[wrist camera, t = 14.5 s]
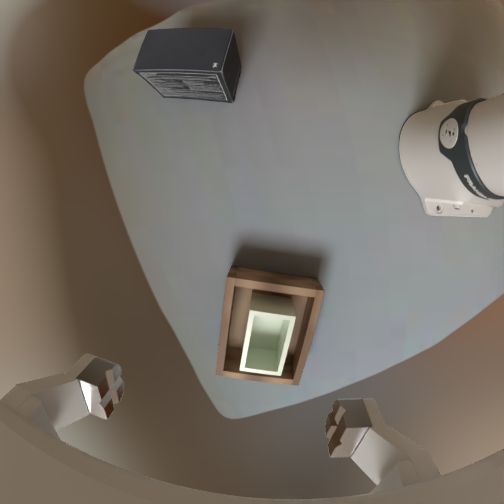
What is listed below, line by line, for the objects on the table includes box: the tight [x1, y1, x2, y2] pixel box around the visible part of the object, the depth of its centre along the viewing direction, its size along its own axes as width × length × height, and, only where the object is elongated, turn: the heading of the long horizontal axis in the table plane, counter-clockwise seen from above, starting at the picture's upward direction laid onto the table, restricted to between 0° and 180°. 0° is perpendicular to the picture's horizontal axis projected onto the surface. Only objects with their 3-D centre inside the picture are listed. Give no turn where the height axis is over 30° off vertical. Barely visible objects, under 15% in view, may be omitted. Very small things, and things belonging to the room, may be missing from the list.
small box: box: [133, 28, 241, 103], centre depth 28 cm, size 11×6×10 cm, turn 79°
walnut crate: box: [216, 266, 324, 385], centre depth 37 cm, size 12×15×5 cm
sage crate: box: [240, 292, 296, 376], centre depth 36 cm, size 6×9×6 cm, turn 171°
